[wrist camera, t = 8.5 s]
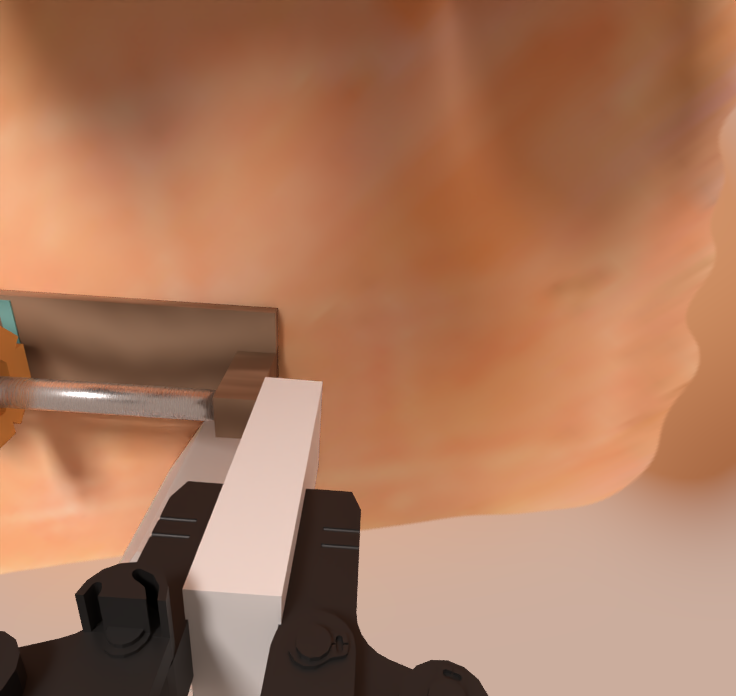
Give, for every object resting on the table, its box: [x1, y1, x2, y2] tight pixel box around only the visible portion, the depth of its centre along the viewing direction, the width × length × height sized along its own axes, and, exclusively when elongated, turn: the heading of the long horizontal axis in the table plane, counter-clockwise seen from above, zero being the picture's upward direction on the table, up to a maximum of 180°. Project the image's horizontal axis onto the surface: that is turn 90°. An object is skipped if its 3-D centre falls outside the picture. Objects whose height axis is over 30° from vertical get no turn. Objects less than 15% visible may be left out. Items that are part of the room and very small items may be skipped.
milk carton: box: [119, 421, 241, 692], centre depth 39 cm, size 7×7×19 cm
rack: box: [0, 290, 278, 439], centre depth 40 cm, size 10×27×8 cm, turn 86°
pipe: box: [0, 376, 216, 421], centre depth 38 cm, size 3×24×3 cm, turn 86°
